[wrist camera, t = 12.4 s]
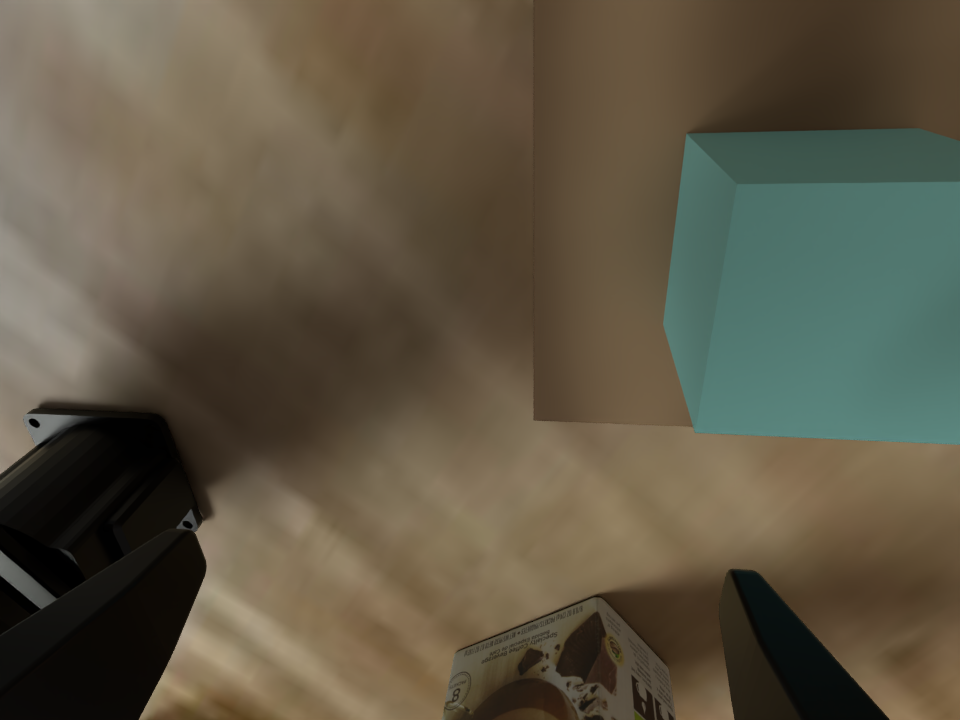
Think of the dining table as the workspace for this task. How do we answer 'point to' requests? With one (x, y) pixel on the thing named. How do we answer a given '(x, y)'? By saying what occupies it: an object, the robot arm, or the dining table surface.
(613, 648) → the coffee box
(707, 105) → the walnut block
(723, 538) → the dining table surface
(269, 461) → the dining table surface
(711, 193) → the teal block
